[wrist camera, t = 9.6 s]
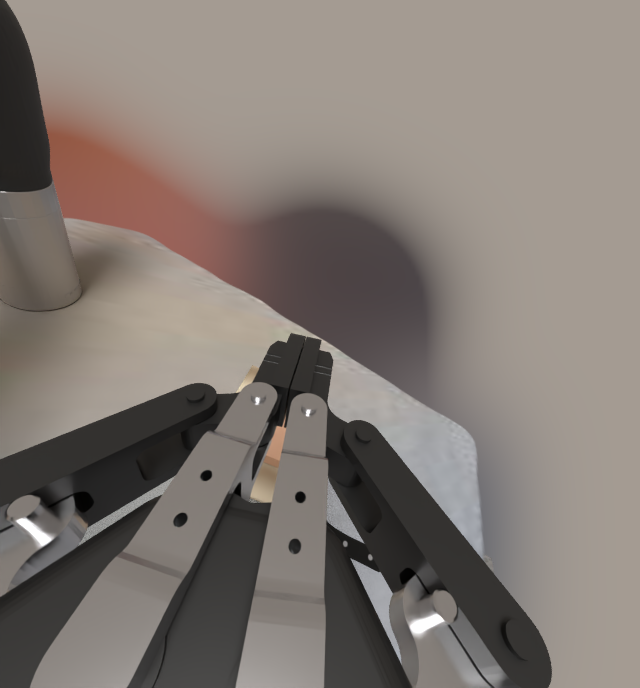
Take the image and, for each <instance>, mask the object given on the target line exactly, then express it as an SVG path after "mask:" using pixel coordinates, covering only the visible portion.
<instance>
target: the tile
mask: <svg viewBox="0 0 640 688" xmlns="http://www.w3.org/2000/svg"><path fill="white" fill-rule="evenodd" d="M285 418H286V417H285ZM284 424H285V420H284V423H283V426H282V427H280V426H277V427H276V430H275V433H274V436H273V438H272V442H271V444H270V447H269V449H268V452H267V454H266V456H265V459H264V461H263V462H265V463H267V464H269V465H272V466H274V467H277V468H278V467H279V462H280V457H281V452H282V448H283V443H284V437H285V432H286V428H284Z"/></svg>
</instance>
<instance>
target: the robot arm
mask: <svg viewBox="0 0 640 688" xmlns="http://www.w3.org/2000/svg"><path fill="white" fill-rule="evenodd" d="M81 293H82V289H81V285H80V279H79V277H78V273H77V269H76V265H75V261H74V257H73V254H72V250H71V246H70V242H69V239H68V235H67V231H66V227H65V223H64V220H63V216H62V213H61V208H60V205H59V202H58V198H57V194H56V190H55V186H54V182H53V179H52V175H51V171H50V147H49V139H48V134H47V130H46V125H45V121H44V116H43V110H42V105H41V100H40V94H39V89H38V83H37V78H36V73H35V69H34V64H33V60H32V57H31V53H30V50H29V46H28V43H27V41H26V38H25V36H24V33H23V31H22V28H21V26H20V25H19V22H18V20H17V18H16V16H15V15H14V13H13V12H12V10H11V8H10V7H9V5H8V4H7V2H6V1H5V0H0V299H1V300H2V301H3V302H4V303H6V304H8V305H10V306H12V307H16V308H19V309H24V310H33V311H44V310H53V309H58V308H62V307H65V306H67V305H70V304H72V303H73V302H75V301H76V300H77V299H78V298H79V297H80V296H81ZM305 339H306V341H305ZM320 344H321V340H319V339H315V338H311V337H307V338H306V336H302V335H297V334H293V333H291V334H290V336H289V339H288V341H287V343H285V342H281V341H277V342H275V343H274V344H272V345H271V346H270V348H269V350H268V352H267V354H266V356H265V358H264V360H263V362H262V364H261V366H260V368H259V370H258V372H257V374H256V376H255V378H254V380H253V382H252V383H251V384H248V385H246V386H245V387H244V388H243V389H242V390H241V392H238V393H232V394H217V393H216V391H215V389H214V388H213V387H212V386H210V385H208V384H204V383H194V384H190V385H187V386H184V387H182V388H179V389H177V390H174V391H172V392H169V393H167V394H164V395H162V396H159V397H157V398H154V399H152V400H149V401H147V402H144V403H142V404H139V405H137V406H134V407H131V408H129V409H126V410H124V411H121V412H119V413H116V414H114V415H111V416H109V417H106V418H104V419H101V420H99V421H96V422H94V423H91V424H89V425H86V426H84V427H81V428H78V429H76V430H73V431H71V432H68V433H66V434H63V435H61V436H58V437H56V438H53V439H51V440H48V441H46V442H43V443H41V444H38V445H36V446H33V447H30V448H28V449H25V450H23V451H20V452H18V453H15V454H13V455H10V456H8V457H5V458H3V459H0V688H548V687H549V685H550V682H551V676H552V669H551V661H550V657H549V653H548V650H547V647H546V645H545V643H544V641H543V639H542V637H541V635H540V633H539V631H538V629H537V628H536V626H535V625H534V624H533V622H532V621H531V619H530V618H529V617H528V616H527V614H526V613H525V612H524V611H523V609H522V608H521V607H520V606H519V604H518V603H517V602H516V601H515V599H514V598H513V597H512V596H511V595H510V593H509V592H508V591H507V590H506V588H505V587H504V586H503V585H502V583H501V582H500V581H499V580H498V579H497V577H496V576H495V575H494V573H493V572H492V571H491V570H490V568H489V567H488V566H487V565H486V564H485V562H484V561H483V560H482V559H481V557H480V556H479V555H478V554H477V552H476V551H475V550H474V549H473V547H472V546H471V545H470V544H469V542H468V541H467V540H466V539H465V537H464V536H463V535H462V534H461V533H460V531H459V530H458V529H457V528H456V526H455V525H454V524H453V523H452V521H451V520H450V519H449V518H448V516H447V515H446V514H445V513H444V511H443V510H442V509H441V508H440V506H439V505H438V504H437V503H436V502H435V500H434V499H433V498H432V497H431V495H430V494H429V493H428V492H427V490H426V489H425V488H424V487H423V485H422V484H421V483H420V482H419V480H418V479H417V478H416V477H415V475H414V474H413V473H412V472H411V471H410V469H409V468H408V467H407V466H406V464H405V463H404V462H403V461H402V459H401V458H400V457H399V456H398V454H397V453H396V452H395V451H394V449H393V448H392V447H391V446H390V445H389V443H388V442H387V441H386V440H385V438H384V437H383V436H382V435H381V433H380V432H379V431H378V430H377V429H376V427H374V426H373V425H372V424H370V423H368V422H366V421H362V420H354V421H351V422H349V423H347V422H345V421H343V420H341V419H339V418H338V417H336V416H335V415H334V414H333V413H332V412H331V410H330V409H329V407H328V402H327V400H328V393H329V386H330V379H331V372H332V366H333V359H332V356H331V354H330V353H329V352H325V351H321V350H319V349H320ZM285 417H286V418H285ZM284 420H285V424H284V428H286V432H285V437H284V443H283V448H282V452H281V457H280V462H279V467H278V472H277V478H276V483H275V488H274V493H273V498H272V502H267V503H250V502H249V499H250V496H251V492H252V488H253V485H254V483H255V480H256V478H257V476H258V473H259V471H260V468H261V466H262V464H263V461H264V459H265V456H266V454H267V452H268V449H269V447H270V444H271V442H272V438H273V436H274V433H275V430H276V427H277V426H280V427H282V426H283V423H284ZM175 475H176V476H175ZM174 476H175V477H174ZM172 477H174V479H173V480H172V482H171V483H170V485H169V486H168V488H167V489H166V490H165V492H164V493H163V495H160V496H158V497H156V498H154V499H152V500H150V501H148V502H146V503H144V504H143V505H141V506H140V507H138V508H137V509H135V510H134V511H132V512H130V513H129V514H127V515H126V516H124V517H123V518H121V519H120V520H118V521H117V522H115V523H114V524H112V525H110V526H109V527H107V528H106V529H104V530H103V531H101V532H100V533H98V534H97V535H95V536H93V537H92V538H90V539H89V540H87V541H86V542H84V543H83V544H81V545H80V546H78V545H79V543H80V542H81V540H82V538H83V537H84V535H85V533H86V530H87V528H88V527H89V526H91V525H93V524H94V523H96V522H98V521H99V520H101V519H103V518H104V517H106V516H108V515H110V514H111V513H113V512H115V511H116V510H118V509H120V508H121V507H123V506H125V505H126V504H128V503H130V502H131V501H133V500H135V499H137V498H138V497H140V496H142V495H143V494H145V493H147V492H148V491H150V490H152V489H153V488H155V487H157V486H158V485H160V484H162V483H164V482H165V481H167V480H169V479H170V478H172ZM328 478H329V481H330V483H331V485H332V487H333V489H334V490H335V492H336V494H337V496H338V497H339V499H340V501H341V503H342V505H343V506H344V508H345V510H346V512H347V513H348V515H349V517H350V519H351V520H352V522H353V524H354V526H355V527H356V529H357V531H358V533H359V535H360V536H361V538H362V540H363V542H364V543H365V545H366V547H367V549H368V550H369V552H370V554H371V556H372V557H373V559H374V561H375V563H376V564H377V566H378V568H379V570H380V572H381V573H382V575H383V577H384V579H385V580H386V582H387V584H388V586H389V587H390V589H391V591H392V593H393V595H392V598H391V600H390V605H389V618H390V623H391V627H392V630H393V633H394V635H395V638H396V640H397V643H398V646H399V649H400V654H401V662H402V665H401V663H400V661H399V659H398V657H397V655H396V652H395V650H394V648H393V646H392V644H391V642H390V640H389V638H388V636H387V634H386V632H385V630H384V628H383V625H382V623H381V621H380V619H379V617H378V615H377V613H376V611H375V609H374V607H373V605H372V603H371V601H370V598H369V596H368V594H367V592H366V590H365V588H364V586H363V584H362V582H361V580H360V578H359V576H358V574H357V571H356V569H355V567H354V565H353V563H352V561H351V559H350V557H349V555H348V553H347V551H346V549H345V547H344V546H343V544H342V542H341V541H340V539H339V538H338V537H337V536H336V534H335V533H334V532H333V531H332V530H331V529H330V528H329V527H328V526H327V525H326V517H327V488H328Z"/></svg>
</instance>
